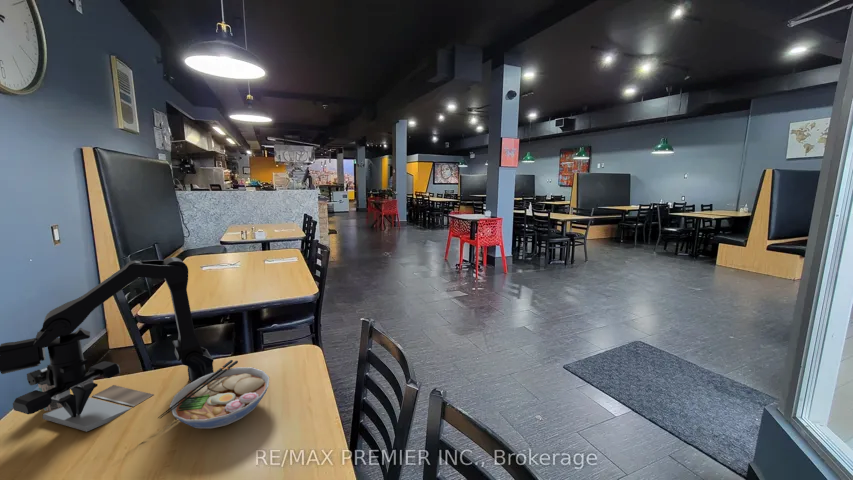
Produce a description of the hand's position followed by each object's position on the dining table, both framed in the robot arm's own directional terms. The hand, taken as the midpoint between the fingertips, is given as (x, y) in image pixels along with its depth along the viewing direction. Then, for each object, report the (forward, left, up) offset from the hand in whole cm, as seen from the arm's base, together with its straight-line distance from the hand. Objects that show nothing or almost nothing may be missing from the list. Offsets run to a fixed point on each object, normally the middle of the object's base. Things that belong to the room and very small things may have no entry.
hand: (76, 415), depth 89 cm
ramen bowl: (-33, -14, -3) cm, 36 cm away
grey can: (+13, -3, -3) cm, 14 cm away
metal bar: (0, -11, -3) cm, 11 cm away
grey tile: (0, -2, -2) cm, 3 cm away
